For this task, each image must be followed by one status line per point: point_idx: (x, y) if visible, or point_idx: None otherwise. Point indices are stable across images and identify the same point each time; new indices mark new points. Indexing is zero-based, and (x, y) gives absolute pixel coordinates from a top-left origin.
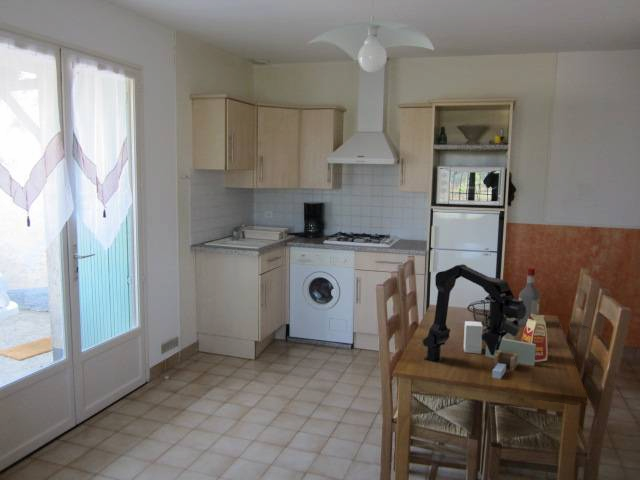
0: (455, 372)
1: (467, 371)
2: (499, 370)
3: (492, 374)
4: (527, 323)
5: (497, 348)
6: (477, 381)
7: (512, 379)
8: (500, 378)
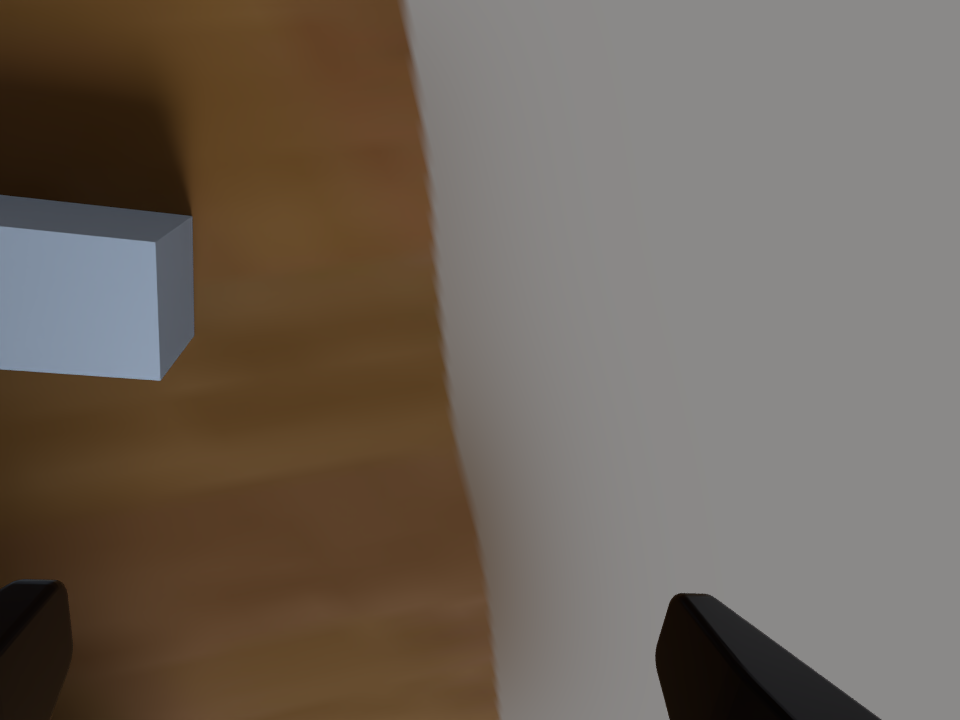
0: (302, 709)
1: (187, 623)
2: (98, 271)
3: (182, 347)
4: None
5: (34, 657)
6: (449, 468)
7: (83, 20)
8: (181, 216)
